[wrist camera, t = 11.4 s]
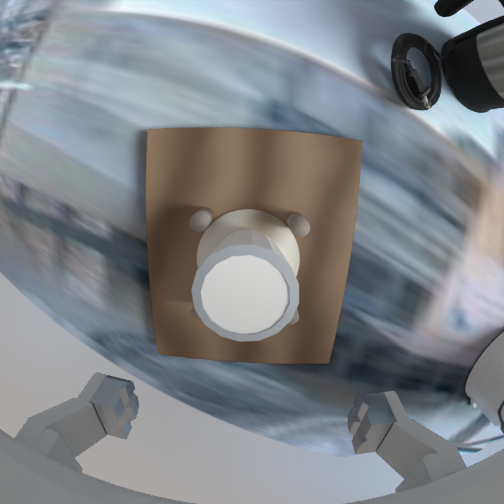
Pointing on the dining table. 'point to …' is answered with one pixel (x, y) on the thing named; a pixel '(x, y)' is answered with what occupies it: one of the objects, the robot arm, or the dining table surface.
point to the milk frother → (454, 64)
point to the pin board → (244, 218)
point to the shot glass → (246, 288)
